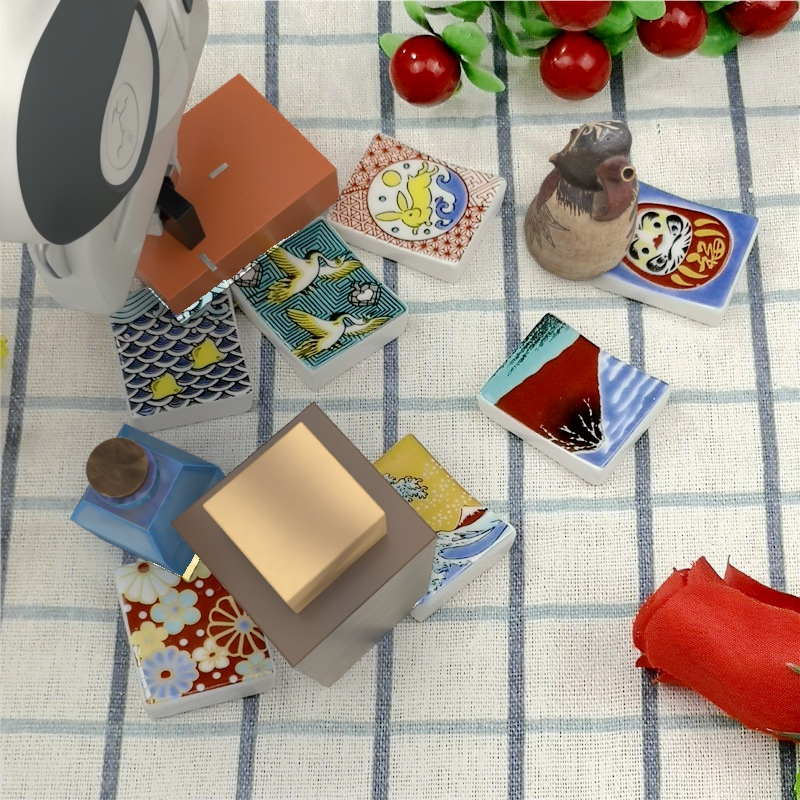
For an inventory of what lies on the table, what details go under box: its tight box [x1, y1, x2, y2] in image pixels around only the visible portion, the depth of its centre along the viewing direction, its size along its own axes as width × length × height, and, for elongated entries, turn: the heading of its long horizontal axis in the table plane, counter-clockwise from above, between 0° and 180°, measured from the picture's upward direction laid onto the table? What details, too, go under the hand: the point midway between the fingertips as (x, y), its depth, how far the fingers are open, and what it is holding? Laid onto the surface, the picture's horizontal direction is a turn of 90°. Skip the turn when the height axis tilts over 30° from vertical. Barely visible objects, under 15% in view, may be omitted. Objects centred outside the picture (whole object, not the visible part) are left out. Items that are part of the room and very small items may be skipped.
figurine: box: [523, 119, 640, 281], centre depth 63 cm, size 7×7×12 cm
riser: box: [171, 401, 439, 689], centre depth 52 cm, size 8×8×20 cm
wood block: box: [203, 422, 387, 613], centre depth 40 cm, size 5×5×4 cm
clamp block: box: [134, 72, 341, 315], centre depth 67 cm, size 16×11×4 cm
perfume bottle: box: [69, 422, 226, 576], centre depth 57 cm, size 6×6×12 cm
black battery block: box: [156, 181, 206, 251], centre depth 63 cm, size 6×1×4 cm, turn 49°
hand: (159, 201), depth 63 cm, fingers closed on black battery block, 2 cm apart
